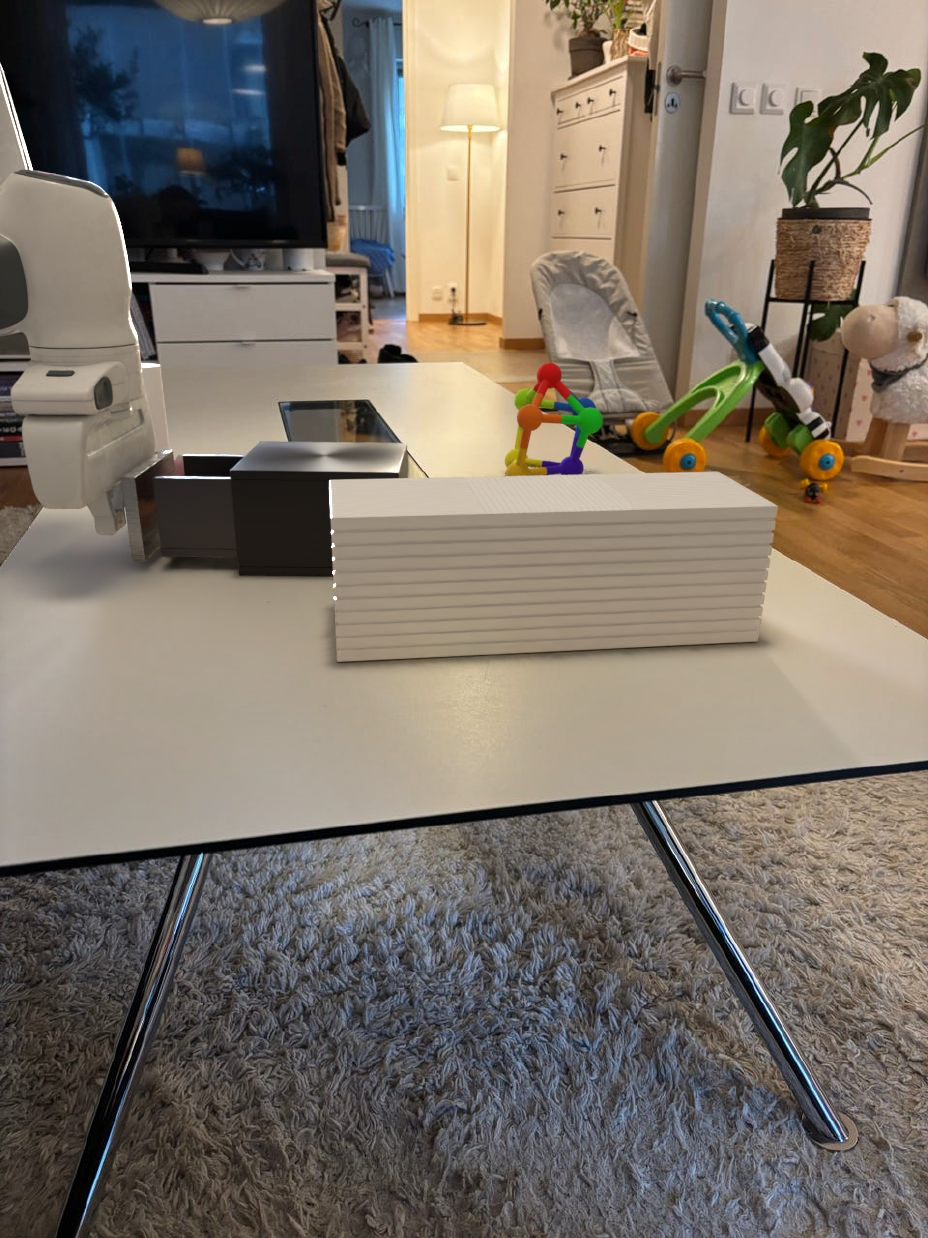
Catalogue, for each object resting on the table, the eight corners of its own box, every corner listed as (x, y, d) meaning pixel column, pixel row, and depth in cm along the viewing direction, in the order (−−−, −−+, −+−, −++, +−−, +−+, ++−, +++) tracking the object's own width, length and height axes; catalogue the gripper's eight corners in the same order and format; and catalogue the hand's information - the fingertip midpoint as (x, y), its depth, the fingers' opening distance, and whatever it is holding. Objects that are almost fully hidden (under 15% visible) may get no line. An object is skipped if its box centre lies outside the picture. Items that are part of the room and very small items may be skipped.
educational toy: (612, 498, 113) (625, 376, 106) (510, 501, 111) (516, 377, 104) (578, 459, 126) (588, 349, 119) (487, 461, 124) (491, 349, 117)
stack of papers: (703, 592, 79) (718, 471, 75) (757, 642, 70) (778, 505, 66) (334, 607, 75) (329, 479, 71) (336, 662, 65) (330, 517, 61)
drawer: (118, 561, 82) (106, 477, 79) (157, 525, 93) (148, 449, 90) (281, 564, 82) (275, 479, 79) (301, 527, 93) (297, 451, 90)
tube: (164, 503, 104) (149, 368, 98) (129, 501, 105) (112, 367, 99) (181, 494, 108) (167, 363, 102) (147, 492, 109) (131, 362, 103)
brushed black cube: (238, 575, 82) (229, 470, 78) (266, 533, 94) (259, 441, 90) (400, 577, 82) (398, 472, 78) (408, 535, 94) (407, 442, 90)
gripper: (97, 363, 89) (117, 501, 94) (-2, 395, 70) (30, 565, 75) (162, 363, 89) (178, 501, 94) (80, 396, 70) (106, 566, 75)
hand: (111, 530), depth 84 cm, fingers closed
